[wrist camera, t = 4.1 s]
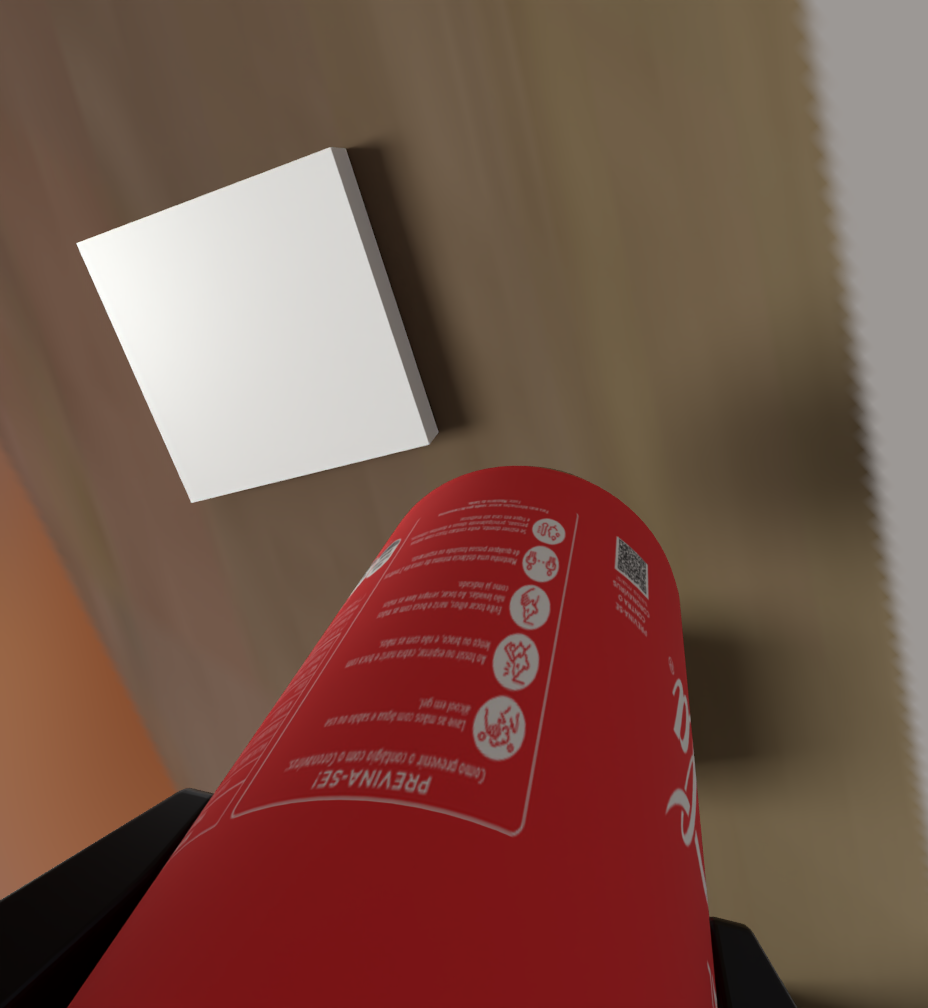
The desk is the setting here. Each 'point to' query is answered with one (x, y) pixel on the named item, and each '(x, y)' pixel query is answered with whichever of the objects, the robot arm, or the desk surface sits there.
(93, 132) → the desk surface
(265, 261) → the white mat
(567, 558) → the beverage can
